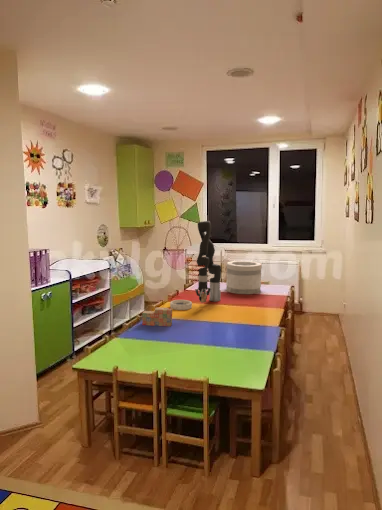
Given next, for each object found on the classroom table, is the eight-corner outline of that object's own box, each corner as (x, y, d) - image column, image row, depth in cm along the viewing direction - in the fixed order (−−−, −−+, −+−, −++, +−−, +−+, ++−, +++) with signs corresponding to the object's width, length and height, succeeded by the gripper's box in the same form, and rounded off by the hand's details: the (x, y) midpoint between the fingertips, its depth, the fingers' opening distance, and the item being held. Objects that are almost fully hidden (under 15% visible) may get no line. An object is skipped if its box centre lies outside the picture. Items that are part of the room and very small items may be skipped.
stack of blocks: (142, 325, 307) (142, 309, 306) (143, 322, 314) (143, 306, 312) (171, 326, 305) (171, 310, 304) (172, 323, 312) (172, 307, 310)
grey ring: (186, 303, 369) (186, 299, 369) (194, 308, 353) (195, 304, 352) (167, 305, 363) (167, 300, 362) (174, 310, 346) (174, 305, 346)
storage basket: (267, 292, 416) (268, 265, 412) (236, 295, 403) (237, 267, 399) (249, 285, 448) (250, 260, 444) (220, 287, 435) (220, 261, 431)
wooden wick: (203, 300, 359) (204, 292, 358) (206, 302, 355) (206, 293, 354) (199, 301, 357) (199, 293, 356) (201, 302, 353) (201, 294, 352)
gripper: (208, 278, 359) (208, 298, 362) (193, 280, 354) (193, 300, 356) (212, 280, 353) (212, 300, 355) (197, 282, 347) (197, 302, 350)
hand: (202, 300), depth 356 cm, fingers closed on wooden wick, 4 cm apart
